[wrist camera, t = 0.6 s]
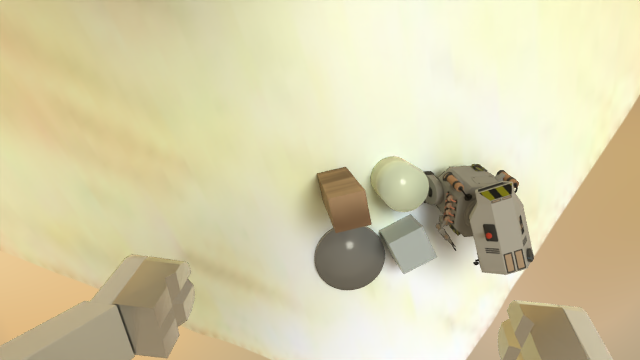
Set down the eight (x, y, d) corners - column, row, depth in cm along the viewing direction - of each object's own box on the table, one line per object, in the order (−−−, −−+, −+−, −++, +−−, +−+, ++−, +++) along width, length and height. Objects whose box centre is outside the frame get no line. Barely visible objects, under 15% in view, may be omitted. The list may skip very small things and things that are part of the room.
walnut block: (317, 173, 53) (328, 198, 41) (345, 166, 53) (364, 190, 41) (323, 200, 54) (335, 233, 42) (351, 194, 54) (371, 224, 42)
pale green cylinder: (367, 161, 53) (378, 171, 47) (409, 151, 53) (425, 160, 48) (374, 202, 55) (386, 216, 49) (415, 192, 55) (432, 205, 49)
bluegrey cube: (379, 230, 56) (388, 244, 51) (410, 214, 56) (422, 226, 51) (393, 258, 57) (403, 274, 52) (423, 242, 57) (437, 257, 52)
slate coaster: (308, 232, 55) (308, 234, 54) (377, 216, 55) (378, 217, 54) (322, 294, 57) (323, 297, 56) (388, 278, 58) (390, 280, 57)
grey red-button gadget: (419, 237, 57) (468, 291, 42) (421, 160, 54) (475, 188, 39) (478, 233, 57) (547, 283, 43) (484, 156, 55) (559, 183, 40)
